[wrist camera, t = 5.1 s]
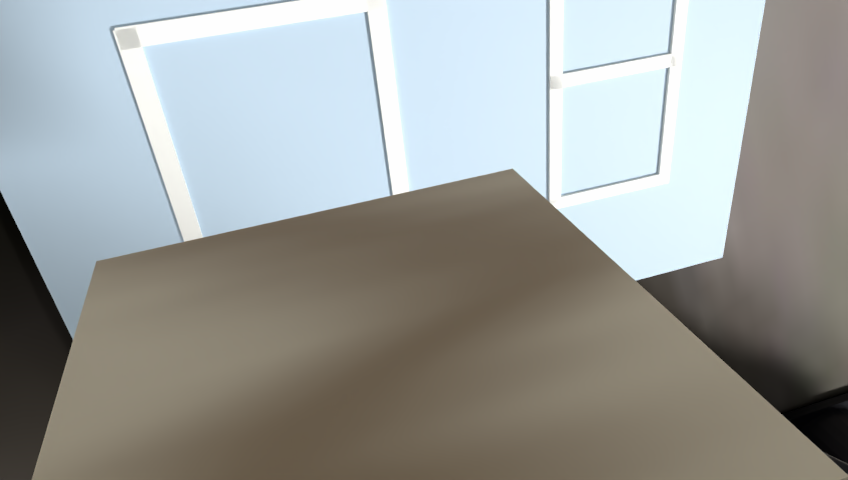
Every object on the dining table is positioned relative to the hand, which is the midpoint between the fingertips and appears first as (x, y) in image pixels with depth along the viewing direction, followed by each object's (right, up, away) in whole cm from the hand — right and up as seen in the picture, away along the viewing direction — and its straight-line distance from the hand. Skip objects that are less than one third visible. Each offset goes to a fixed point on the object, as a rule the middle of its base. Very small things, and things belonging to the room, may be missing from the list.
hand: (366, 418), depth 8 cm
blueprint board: (+1, +6, +10) cm, 12 cm away
